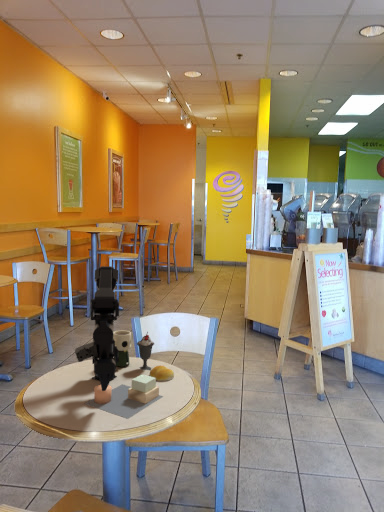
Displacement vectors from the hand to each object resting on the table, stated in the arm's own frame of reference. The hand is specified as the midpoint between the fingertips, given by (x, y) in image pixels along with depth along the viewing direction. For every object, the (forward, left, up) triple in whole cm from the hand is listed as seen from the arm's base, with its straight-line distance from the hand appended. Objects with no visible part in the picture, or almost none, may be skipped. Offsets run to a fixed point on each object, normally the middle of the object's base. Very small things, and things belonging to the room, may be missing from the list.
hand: (103, 384), depth 126 cm
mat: (+6, +4, -5) cm, 9 cm away
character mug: (-16, +28, -6) cm, 33 cm away
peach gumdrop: (0, 0, -5) cm, 5 cm away
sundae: (-6, +30, -6) cm, 31 cm away
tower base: (+9, +9, -5) cm, 14 cm away
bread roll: (+4, +27, -6) cm, 28 cm away
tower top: (+9, +9, -2) cm, 13 cm away
